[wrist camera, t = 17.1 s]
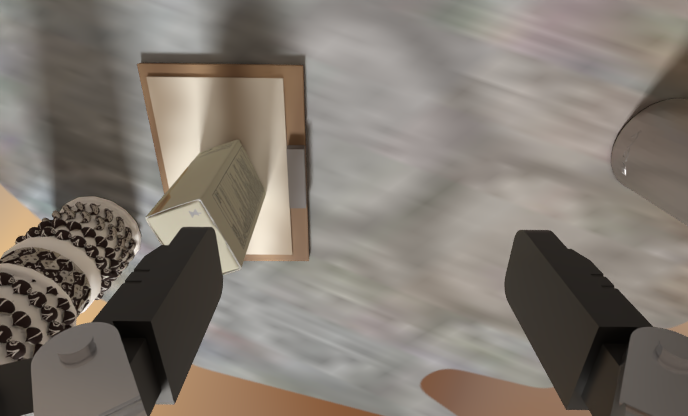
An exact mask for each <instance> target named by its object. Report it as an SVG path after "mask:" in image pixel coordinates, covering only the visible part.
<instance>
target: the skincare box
mask: <svg viewBox="0 0 688 416" xmlns="http://www.w3.org/2000/svg"><path fill="white" fill-rule="evenodd" d="M265 196H266V192H265V190H264V187H263V185H262V183H261V181H260V179H259V177H258V175H257V173H256V171H255V169H254V167H253V165H252V163H251V161H250V159H249V157H248V155H247V153H246V151H245V149H244V148H243V146H242V144H241V142H240V140H234V141H231V142H228V143H225V144H222V145H219V146H216V147H213V148H211V149H208V150H206V151H203V152H201V153H199V154H198V155H197V156H196V158H195V159H194V160H193V161H192V162H191V163H190V165H189V166H188V167H187V168H186V170H185V171H184V172H183V173H182V174H181V175H180V177H179V178H178V179H177V180H176V181H175V183H174V184H173V185H172V186H171V187H170V188H169V190H168V191H167V192H166V193H165V195H164V196H163V197H162V198H161V199H160V201H159V202H158V203H157V204H156V205H155V207H154V208H153V209H152V210H151V211H150V213H149V214H148V215H147V216H146V218H145V219H146V221H147V223H148V224H149V226H150V228H151V229H152V231H153V232H154V234H155V235H156V237H157V238H158V240H159V242H160V243H161V244H162V245H169V244H170V242H171V241H172V240H173V238H174V237H175V236H176V234H177V233H178V232H179V230H180V229H181V228H182V227H212V228H214V230H215V233H216V238H217V244H218V250H219V256H220V262H221V268H222V274H223V275H225V274H228V273H232V272H235V271H238V270H240V269H241V267H242V264H243V261H244V258H245V255H246V252H247V249H248V246H249V243H250V240H251V237H252V234H253V231H254V228H255V225H256V223H257V219H258V216H259V214H260V211H261V207H262V205H263V202H264V199H265Z"/></svg>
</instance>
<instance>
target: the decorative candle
mask: <svg viewBox="0 0 688 416" xmlns="http://www.w3.org/2000/svg"><path fill="white" fill-rule="evenodd" d="M52 217H53V218H54V219H53V220H49V219H48V218H43V219H42V222H41V223H40V224H39V225H38V228H37V227H32V228H30V229H29V231H28V232H27V233H26V235H25V236H20V237H18V238H17V239H16V245H14V246H13V247H12V248H10V249H9V250H8V251H6V252H5V253H4V254H3V255H2V257H1V259H0V365H2V364H7V363H11V362H16V361H20V360H25V359H29V358H33V357H34V355H35V354H36V352H37V351H38V350H39V349H40V347H41V346H42V345H44V344H45V343H46V342H47V341H48V340H50V339H51V338H52V337H54V336H56V335H57V334H59V333H61V332H63V331H65V330H67V329H69V328H72V327H74V326H76V318H77V317H78V316H79V315H80V313H83V312H85V311H86V309H87V308H88V307H89V306H90V304H91V303H92V302H93V301H94V300H99V299H101V298H102V297H103V292H104V291H106V290H108V289H109V288H110V287H111V281H114V280H116V279H117V278H118V277H119V276H120V275H121V273H122V271H123V270H124V269H125V268H126V267H127V266H128V264H129V262H130V261H131V260H133V258H134V256H135V254H136V253H137V252H138V250H139V249H140V243H141V234H140V231H139V228H138V225H137V222H136V221H135V220H134V219H133V218H132V216H131V215H130V214H129V213H128V212H127V211H126V210H125V209H124V208H122V207H120V206H119V205H117V204H116V203H114V202H113V201H110V200H107V199H103V198H100V197H96V196H88V197H78V198H76V199H74V200H72V201H70V202H68V203H66V204H65V205H63V207H62V209H61V211H60V212H58V211H53V213H52Z"/></svg>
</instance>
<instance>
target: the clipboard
mask: <svg viewBox="0 0 688 416" xmlns="http://www.w3.org/2000/svg"><path fill="white" fill-rule="evenodd" d="M137 66H138V71H139V76H140V81H141V85H142V90H143V95H144V100H145V104H146V109H147V114H148V119H149V123H150V128H151V133H152V138H153V142H154V147H155V152H156V157H157V161H158V166H159V171H160V176H161V180H162V185H163V190H164V194H165V193H166V192H167V191H168V190H169V188H170V187H171V186H172V185H173V184H174V183H175V181H176V180H177V179H178V178H179V177H180V175H181V174H182V173H183V172H184V171H185V170H186V168H187V167H188V166H189V165H190V163H191V162H192V161H193V160H194V159H195V158H196V156H197V155H198V154H199V153H201V152H203V151H206V150H208V149H211V148H213V147H216V146H219V145H222V144H225V143H228V142H231V141H234V140H240V142H241V144H242V146H243V148H244V149H245V151H246V153H247V155H248V157H249V159H250V161H251V163H252V165H253V167H254V169H255V171H256V173H257V175H258V177H259V179H260V181H261V183H262V185H263V187H264V190H265V192H266V196H265V199H264V202H263V205H262V207H261V211H260V214H259V216H258V219H257V223H256V225H255V228H254V231H253V234H252V237H251V240H250V243H249V246H248V249H247V252H246V255H245V258H244V261H309V233H308V200H307V168H306V135H305V103H304V70H303V65H273V64H199V63H139V64H137Z"/></svg>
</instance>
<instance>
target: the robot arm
mask: <svg viewBox="0 0 688 416" xmlns="http://www.w3.org/2000/svg"><path fill="white" fill-rule="evenodd" d="M611 166H612V170H613V173H614V175H615V176H616V178H617V180H618V181H620V182H621V183H622V184H623V185H624V186H626V187H627V188H629V189H631V190H632V191H634V192H635V193H637V194H638V195H640V196H642V197H643V198H645V199H646V200H648V201H649V202H651V203H652V204H654V205H655V206H657V207H659V208H660V209H662V210H663V211H665V212H666V213H668V214H670V215H671V216H673V217H674V218H676V219H677V220H679V221H681V222H682V223H684V224H685V225H687V226H688V99H680V98H675V99H669V100H664V101H661V102H658V103H656V104H653V105H651V106H649V107H648V108H646V109H644V110H642V111H641V112H640V113H639V114H637V115H636V116H635V117H633V118H632V119H631V120H630V121H629V123H628V124H627V125H626V126H625V127H624V128H623V130H622V131H621V133H620V134H619V136H618V137H617V139H616V142H615V144H614V146H613V150H612V155H611ZM222 288H223V274H222V268H221V262H220V256H219V250H218V244H217V238H216V233H215V230H214V228H212V227H182V228H181V229H180V230H179V232H178V233H177V234H176V236H175V237H174V238H173V240H172V241H171V242H170V244H169V245H161V246H159V247H158V248H156V249H155V250H153V251H152V252H150V253H149V254H147V255H146V256H144V258H143V259H142V260H141V261H140V263H139V264H138V265H137V266H136V268H135V269H134V272H132V273H131V274H130V275H129V276H128V278H127V279H126V280H125V283H123V284H122V285H121V286H120V288H119V289H118V290H117V291H116V293H115V294H114V295H113V296H112V298H111V299H110V300H109V301H108V303H107V304H106V305H105V306H104V308H103V309H102V310H101V311H100V313H99V314H98V315H97V316H96V317H95V319H94V320H93V321H92V322H91V323H85V324H81V325H78V326H74V327H72V328H69V329H67V330H65V331H63V332H61V333H59V334H57V335H56V336H54V337H52V338H51V339H50V340H48V341H47V342H46V343H45V344H44V345H42V346H41V347H40V349H39V350H38V351H37V352H36V354H35V355H34V357H33V358H29V359H25V360H20V361H16V362H11V363H7V364H2V365H0V416H150V414H151V412H152V410H153V407H154V405H155V404H175V402H176V400H177V397H178V395H179V393H180V391H181V388H182V386H183V384H184V381H185V379H186V377H187V374H188V371H189V370H190V367H191V365H192V363H193V360H194V358H195V356H196V353H197V351H198V349H199V346H200V344H201V342H202V339H203V337H204V335H205V333H206V330H207V328H208V326H209V323H210V321H211V319H212V316H213V314H214V312H215V309H216V307H217V305H218V302H219V300H220V297H221V294H222ZM505 294H506V298H507V301H508V303H509V305H510V307H511V308H512V310H513V312H514V314H515V316H516V318H517V319H518V321H519V323H520V325H521V327H522V329H523V331H524V332H525V334H526V336H527V338H528V340H529V342H530V344H531V345H532V347H533V349H534V351H535V353H536V355H537V356H538V358H539V360H540V362H541V364H542V366H543V368H544V369H545V371H546V373H547V375H548V377H549V379H550V381H551V382H552V384H553V386H554V388H555V390H556V392H557V393H558V395H559V397H560V399H561V401H562V403H563V405H564V406H565V408H566V410H589V411H590V412H591V414H592V416H688V337H686V336H684V335H682V334H679V333H677V332H674V331H671V330H667V329H663V328H657V327H653V326H652V325H651V324H650V323H649V322H648V321H647V320H646V319H645V318H644V317H643V316H642V314H641V313H640V312H639V311H638V310H637V309H636V308H635V307H634V306H633V305H632V304H631V303H630V302H629V301H628V300H627V299H626V298H625V297H624V295H623V294H622V293H621V292H620V291H619V290H618V289H614V285H613V284H612V283H611V282H610V281H609V280H608V279H607V278H606V277H603V273H602V272H601V271H600V270H599V269H598V268H597V267H596V266H595V265H594V264H593V263H592V262H591V261H590V260H589V259H587V258H585V257H584V256H582V255H580V254H579V253H577V252H575V251H574V250H572V249H567V248H566V246H565V245H564V244H563V243H562V242H561V241H560V240H559V239H558V238H557V236H556V235H555V234H554V233H553V232H552V231H550V230H519V231H518V232H517V233H516V235H515V238H514V242H513V246H512V250H511V255H510V259H509V263H508V268H507V272H506V276H505Z"/></svg>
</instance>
